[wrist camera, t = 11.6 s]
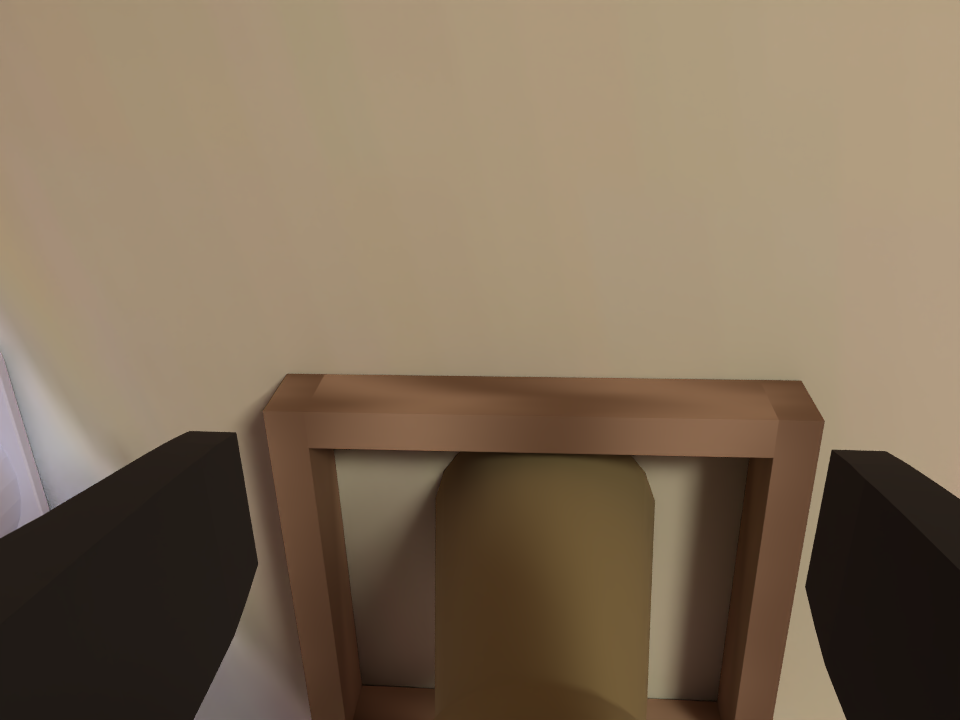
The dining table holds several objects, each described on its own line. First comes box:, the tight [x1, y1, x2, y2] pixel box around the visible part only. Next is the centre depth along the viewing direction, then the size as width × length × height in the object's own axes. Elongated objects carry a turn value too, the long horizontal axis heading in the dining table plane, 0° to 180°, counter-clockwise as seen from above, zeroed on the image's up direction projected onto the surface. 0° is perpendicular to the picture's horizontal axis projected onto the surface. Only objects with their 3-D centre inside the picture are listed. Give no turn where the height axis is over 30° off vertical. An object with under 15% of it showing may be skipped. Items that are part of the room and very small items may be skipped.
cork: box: [433, 451, 655, 720], centre depth 18 cm, size 6×6×11 cm
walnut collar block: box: [263, 374, 825, 720], centre depth 23 cm, size 13×12×2 cm
